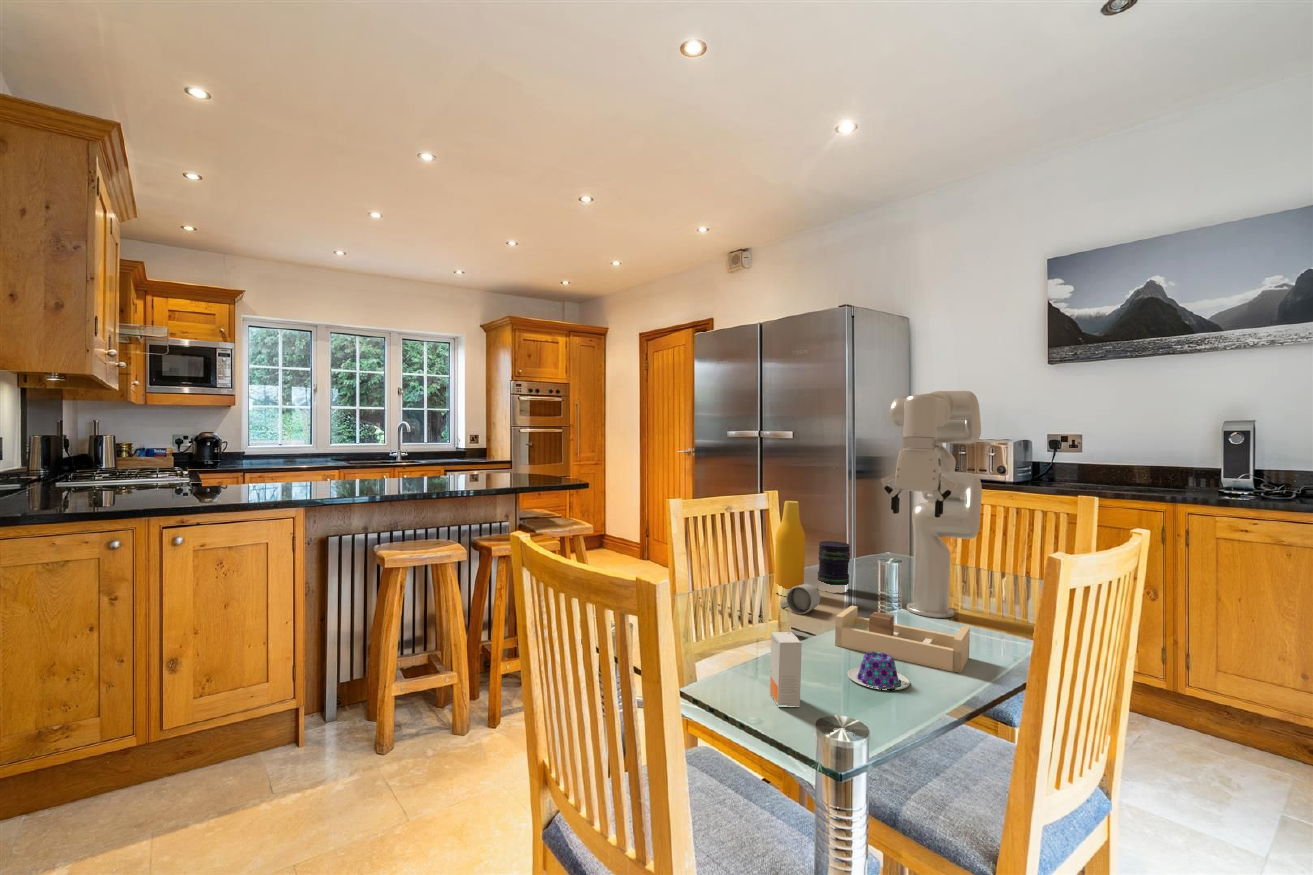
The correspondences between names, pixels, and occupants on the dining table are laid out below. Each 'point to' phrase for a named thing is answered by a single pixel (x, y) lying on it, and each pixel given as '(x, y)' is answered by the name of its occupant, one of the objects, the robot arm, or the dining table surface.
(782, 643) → the skincare box
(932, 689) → the dining table surface
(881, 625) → the walnut block
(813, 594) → the ceramic mug
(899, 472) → the robot arm
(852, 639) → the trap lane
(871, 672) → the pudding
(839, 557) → the storage jar
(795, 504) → the beer bottle
